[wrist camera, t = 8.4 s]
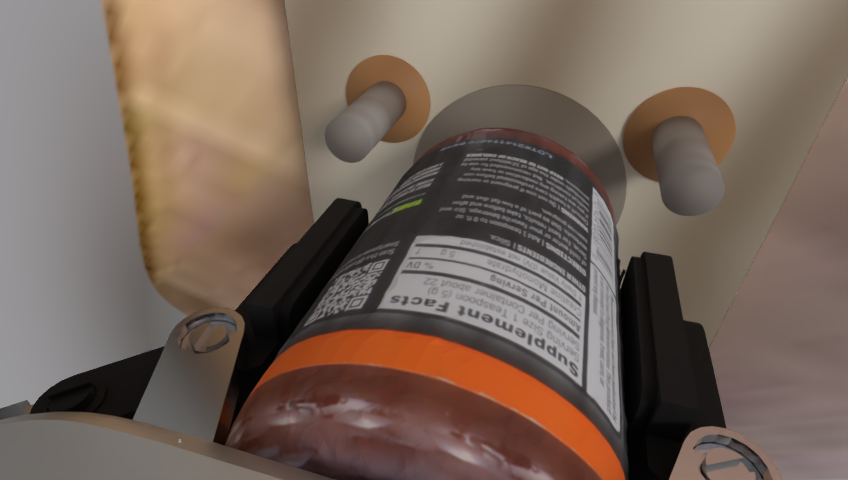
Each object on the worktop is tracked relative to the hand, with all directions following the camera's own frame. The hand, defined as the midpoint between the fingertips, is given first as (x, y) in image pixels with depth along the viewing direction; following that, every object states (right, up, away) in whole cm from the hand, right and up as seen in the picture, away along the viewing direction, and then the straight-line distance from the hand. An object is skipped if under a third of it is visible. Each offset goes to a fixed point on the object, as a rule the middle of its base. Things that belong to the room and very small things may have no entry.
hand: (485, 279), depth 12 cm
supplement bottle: (+1, +2, +2) cm, 3 cm away
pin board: (+2, +3, +4) cm, 6 cm away
